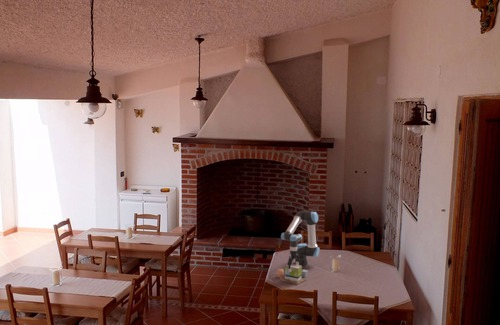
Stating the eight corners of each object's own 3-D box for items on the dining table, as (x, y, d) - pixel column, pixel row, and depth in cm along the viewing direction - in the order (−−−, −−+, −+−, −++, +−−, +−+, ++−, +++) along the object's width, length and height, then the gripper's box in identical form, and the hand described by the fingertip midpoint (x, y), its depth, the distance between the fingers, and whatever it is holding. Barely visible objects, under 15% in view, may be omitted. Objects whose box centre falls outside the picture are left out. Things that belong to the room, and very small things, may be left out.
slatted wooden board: (289, 276, 481) (289, 274, 481) (305, 280, 468) (305, 279, 468) (281, 280, 469) (281, 279, 469) (297, 285, 456) (297, 283, 456)
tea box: (284, 279, 468) (284, 265, 466) (288, 276, 476) (288, 262, 474) (298, 282, 460) (298, 268, 458) (301, 278, 469) (302, 265, 467)
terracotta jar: (279, 275, 483) (279, 268, 482) (285, 277, 478) (285, 269, 477) (275, 277, 477) (275, 270, 476) (281, 279, 473) (281, 271, 472)
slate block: (303, 274, 485) (303, 269, 484) (308, 275, 481) (308, 270, 481) (300, 276, 481) (300, 270, 480) (305, 277, 477) (305, 272, 476)
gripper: (297, 246, 476) (297, 265, 479) (283, 252, 457) (283, 272, 460) (303, 247, 472) (303, 266, 475) (289, 254, 453) (289, 274, 456)
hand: (293, 269), depth 467 cm, fingers open, 13 cm apart
